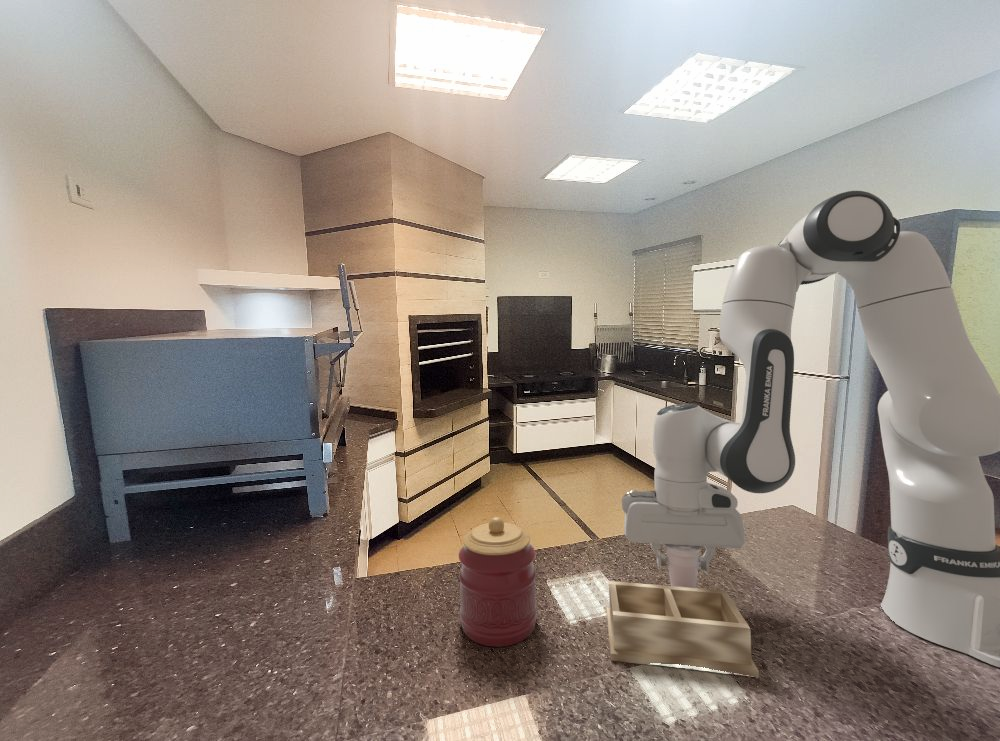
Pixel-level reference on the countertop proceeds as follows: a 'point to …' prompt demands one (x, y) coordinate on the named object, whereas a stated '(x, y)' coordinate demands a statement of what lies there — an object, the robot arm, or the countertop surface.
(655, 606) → the wooden divided tray
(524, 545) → the canister
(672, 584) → the smoothie
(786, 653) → the countertop surface
